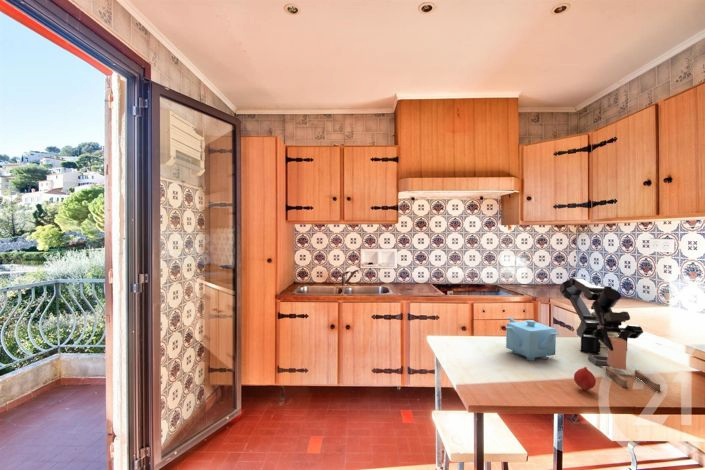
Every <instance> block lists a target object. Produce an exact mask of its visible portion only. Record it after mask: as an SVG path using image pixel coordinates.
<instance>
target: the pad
mask: <svg viewBox="0 0 705 470" xmlns="http://www.w3.org/2000/svg"><path fill="white" fill-rule="evenodd" d="M600 367H601V368H602V369H603V370H606V367H608V366H600ZM610 368H611V369H612V370H614V371H615V372H616V373H618V374H619V375H620V376H628V375H629V376H628V377H632V376H633V374H632V373H631V372H629V371H627V369H626V370H624V369H615V368H612V367H610Z"/></svg>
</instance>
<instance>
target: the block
mask: <svg viewBox="0 0 705 470" xmlns="http://www.w3.org/2000/svg"><path fill="white" fill-rule="evenodd" d="M609 339H610V341H611V344H612V346H613V351H611V350H610V349H609V348H607V356H608V357H607V364H608V365H609V366H611V367H612V368H615V369H624V370H626V371H627V367H626V366H627V351H626V349H627V350H628V340H627V341H625V340H623V339H621V338H615V337H609Z"/></svg>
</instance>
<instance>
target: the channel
mask: <svg viewBox="0 0 705 470" xmlns="http://www.w3.org/2000/svg"><path fill="white" fill-rule="evenodd" d="M604 370H605V369H604ZM605 375H607V376H608V377H609V378H611V379H612V380H613V381H614V382H615V383H617V384H618V385H619V386H620V387H621V388H623V389H628V383H629V382H628V380H627V379H626V378H625V377H623V375H619V374H618V373H616V372H615V371H614V370H612V369H611V368H610V367H606V370H605ZM634 377H635V378H636V377H637V378H639V379H640V380H642V381H643V382H644V383H645V384H644V383H643V382H642V383H643V384H644V385H646V384H647V385H648V386H647V385H646V386H647V387H649V386H650V387H651V388H652V390H653V389H654V390H655V391H654V390H653V391H654V392H656V391H658V393H661V384H660V382H657V381H656V380H654V379H653V378H651V377H650V376H649V375H647V374H645V373H643V372H642V371H640V369H639V370H638V369H635V370H634ZM637 378H636V379H637ZM639 379H638V380H639ZM640 380H639V381H640ZM650 387H649V388H650ZM651 388H650V389H651Z"/></svg>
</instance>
